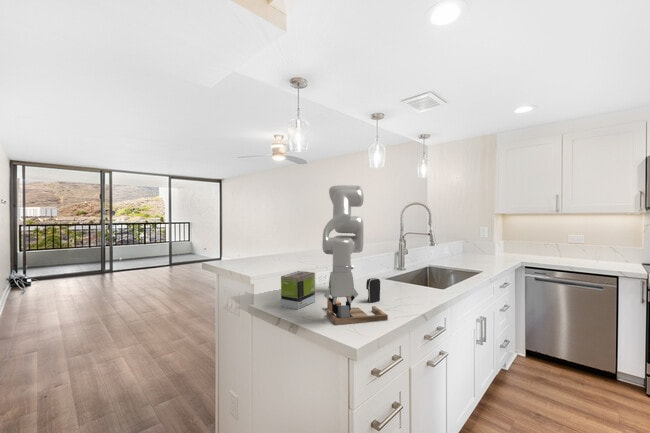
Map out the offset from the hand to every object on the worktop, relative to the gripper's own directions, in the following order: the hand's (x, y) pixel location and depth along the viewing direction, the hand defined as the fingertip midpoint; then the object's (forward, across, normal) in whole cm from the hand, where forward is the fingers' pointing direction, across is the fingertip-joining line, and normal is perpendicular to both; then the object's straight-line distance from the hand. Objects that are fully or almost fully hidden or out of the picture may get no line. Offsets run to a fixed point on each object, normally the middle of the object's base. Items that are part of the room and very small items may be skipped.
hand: (341, 312), depth 125 cm
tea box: (+3, +14, -24) cm, 28 cm away
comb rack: (+3, -6, 0) cm, 7 cm away
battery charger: (+3, -23, -20) cm, 30 cm away
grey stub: (+1, 0, +2) cm, 3 cm away
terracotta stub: (+3, 0, -11) cm, 11 cm away
